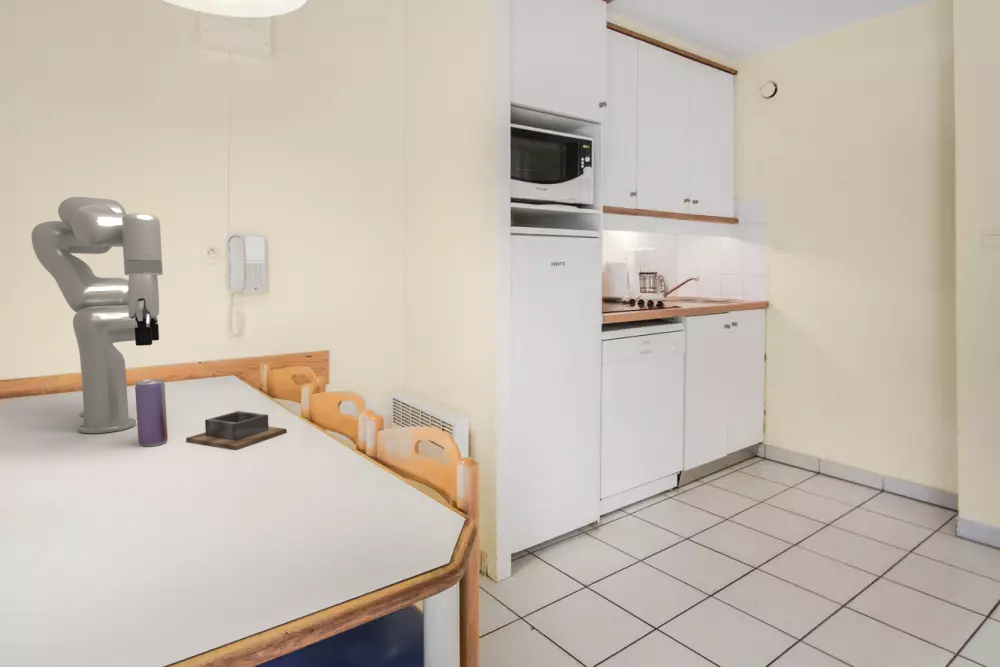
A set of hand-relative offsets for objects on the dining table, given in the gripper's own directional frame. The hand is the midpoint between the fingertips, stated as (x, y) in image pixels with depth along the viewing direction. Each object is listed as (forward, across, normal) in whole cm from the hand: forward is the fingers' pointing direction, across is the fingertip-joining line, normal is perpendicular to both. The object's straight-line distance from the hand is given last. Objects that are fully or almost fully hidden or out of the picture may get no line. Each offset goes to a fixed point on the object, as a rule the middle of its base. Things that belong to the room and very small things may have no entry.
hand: (147, 342), depth 138 cm
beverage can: (+24, 0, 0) cm, 24 cm away
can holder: (+24, +1, +18) cm, 30 cm away
